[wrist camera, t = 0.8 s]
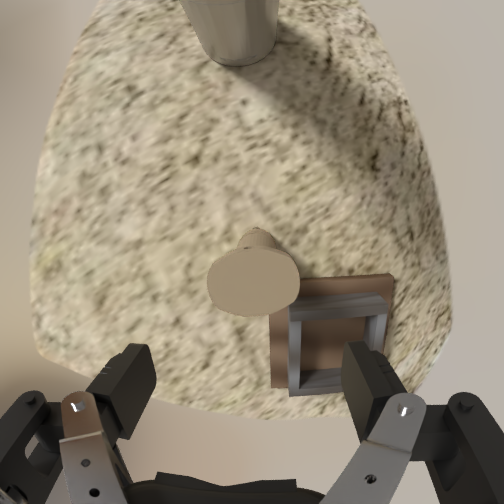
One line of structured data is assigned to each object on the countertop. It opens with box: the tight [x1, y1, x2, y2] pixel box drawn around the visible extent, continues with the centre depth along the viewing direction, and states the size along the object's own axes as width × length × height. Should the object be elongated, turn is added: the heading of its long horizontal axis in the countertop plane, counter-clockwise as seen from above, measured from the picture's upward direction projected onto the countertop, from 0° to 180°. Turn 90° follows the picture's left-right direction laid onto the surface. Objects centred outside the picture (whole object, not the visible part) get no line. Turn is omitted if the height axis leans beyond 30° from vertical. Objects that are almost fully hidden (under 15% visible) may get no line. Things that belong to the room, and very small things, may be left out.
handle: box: [207, 227, 300, 317], centre depth 27 cm, size 5×6×15 cm
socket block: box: [269, 273, 394, 397], centre depth 34 cm, size 16×16×6 cm
